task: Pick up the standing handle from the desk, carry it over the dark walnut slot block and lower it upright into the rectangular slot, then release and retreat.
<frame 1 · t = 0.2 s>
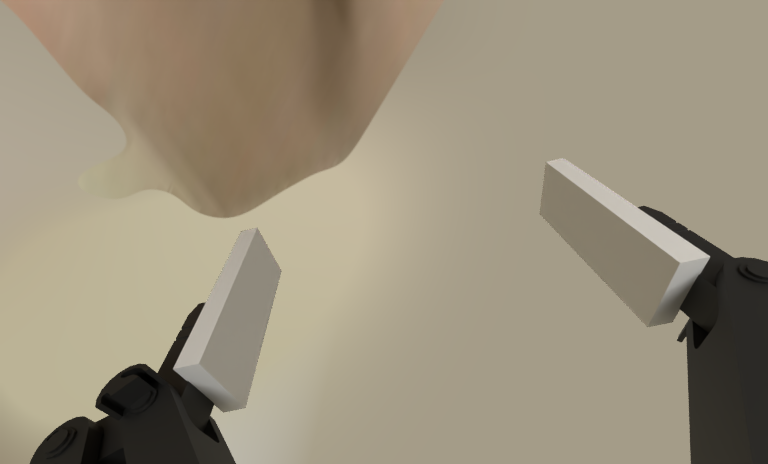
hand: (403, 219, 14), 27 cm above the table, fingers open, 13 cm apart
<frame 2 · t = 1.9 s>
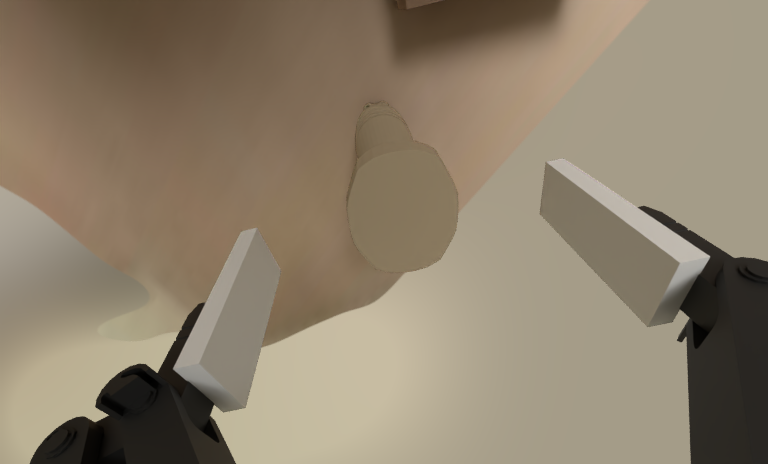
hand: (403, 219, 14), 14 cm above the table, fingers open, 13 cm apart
handle: (377, 119, 26), on the table
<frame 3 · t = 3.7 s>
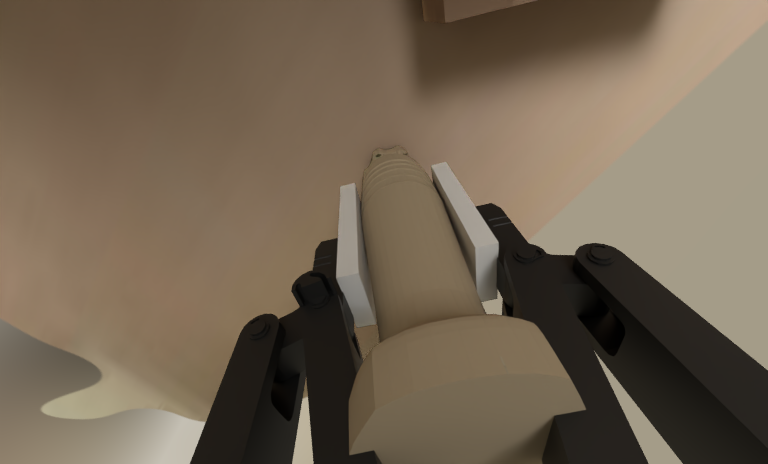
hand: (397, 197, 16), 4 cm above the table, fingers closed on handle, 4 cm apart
handle: (389, 167, 19), on the table, touching gripper
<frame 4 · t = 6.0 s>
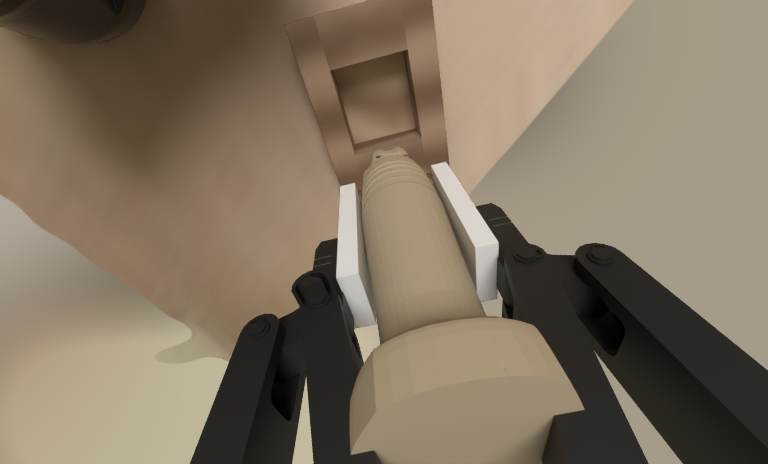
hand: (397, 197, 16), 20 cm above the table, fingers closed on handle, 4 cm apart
slot block: (376, 97, 32), on the table
handle: (389, 168, 19), point 17 cm above the table, touching gripper
when the fingers open (5 cm above the table, at t = 8.5 s): handle stays where it is, resting on slot block.
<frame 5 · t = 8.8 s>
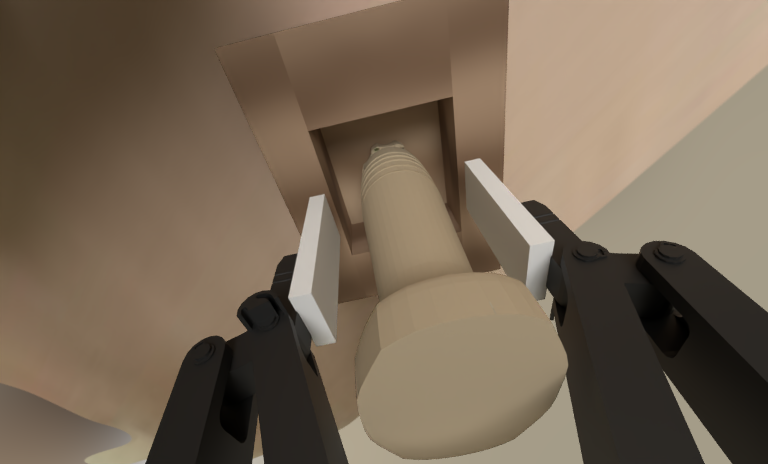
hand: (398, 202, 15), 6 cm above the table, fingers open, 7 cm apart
slot block: (387, 159, 20), on the table
handle: (387, 162, 20), resting on slot block
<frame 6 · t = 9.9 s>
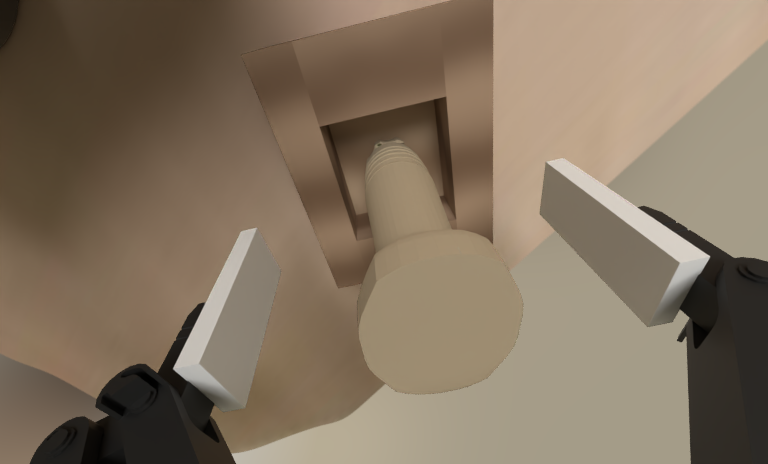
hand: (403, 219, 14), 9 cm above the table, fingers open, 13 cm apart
slot block: (389, 154, 22), on the table
handle: (389, 156, 22), resting on slot block
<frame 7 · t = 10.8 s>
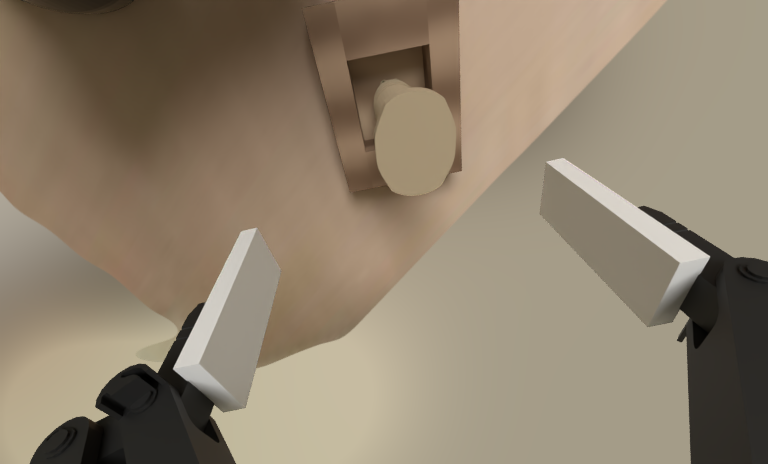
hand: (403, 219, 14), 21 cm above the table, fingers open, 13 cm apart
slot block: (390, 93, 31), on the table
handle: (390, 94, 31), resting on slot block
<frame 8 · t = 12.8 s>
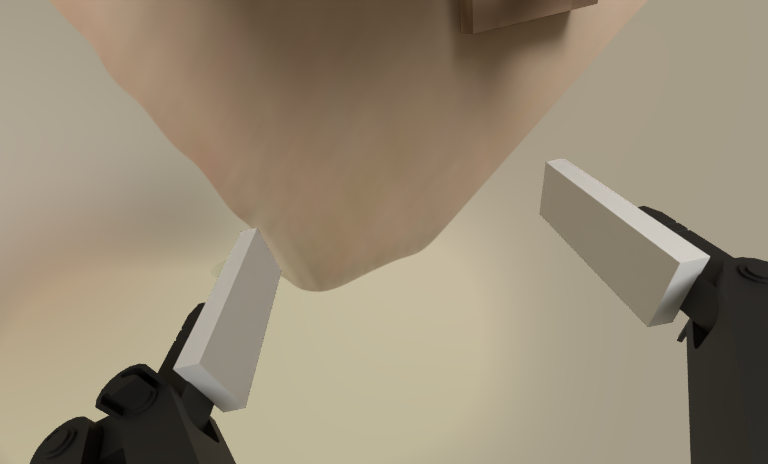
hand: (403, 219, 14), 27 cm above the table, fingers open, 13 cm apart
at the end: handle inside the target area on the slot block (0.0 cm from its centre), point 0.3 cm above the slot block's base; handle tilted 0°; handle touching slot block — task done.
